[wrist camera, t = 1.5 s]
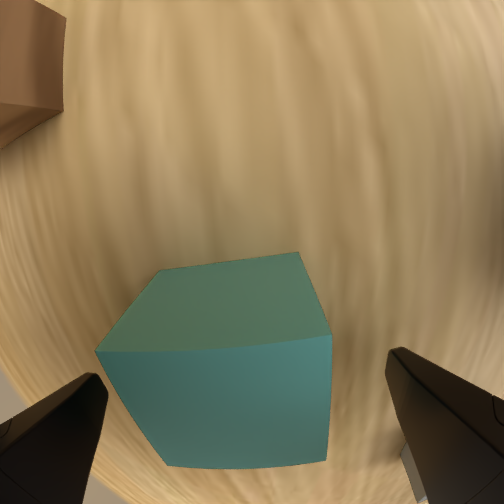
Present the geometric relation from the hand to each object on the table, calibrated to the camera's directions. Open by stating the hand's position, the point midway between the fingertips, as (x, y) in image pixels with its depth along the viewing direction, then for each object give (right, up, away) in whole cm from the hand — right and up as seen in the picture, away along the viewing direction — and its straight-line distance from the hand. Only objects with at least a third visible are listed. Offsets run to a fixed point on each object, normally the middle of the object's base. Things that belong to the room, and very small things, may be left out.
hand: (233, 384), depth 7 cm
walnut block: (-10, +11, 0) cm, 15 cm away
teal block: (0, +1, +3) cm, 4 cm away
